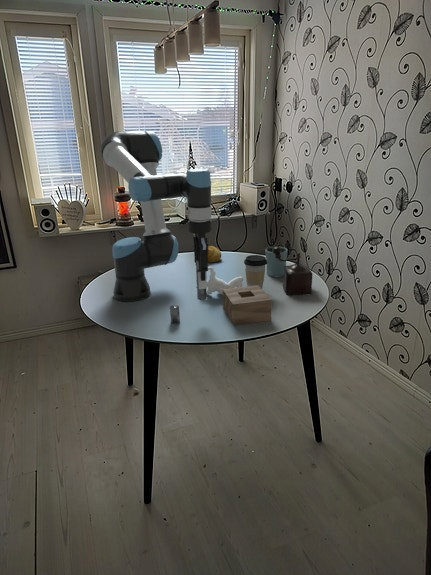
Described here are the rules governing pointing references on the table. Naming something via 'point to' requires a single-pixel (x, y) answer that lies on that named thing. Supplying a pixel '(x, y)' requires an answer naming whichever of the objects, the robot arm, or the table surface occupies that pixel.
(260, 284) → the coffee cup
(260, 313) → the pin block
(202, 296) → the long pin
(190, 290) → the table surface
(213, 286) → the person figurine
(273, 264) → the light blue mug
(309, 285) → the manual coffee grinder
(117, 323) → the table surface
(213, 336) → the table surface
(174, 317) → the short pin
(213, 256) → the bread roll
